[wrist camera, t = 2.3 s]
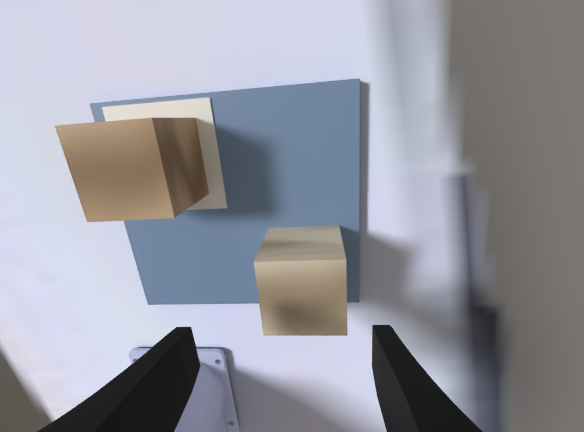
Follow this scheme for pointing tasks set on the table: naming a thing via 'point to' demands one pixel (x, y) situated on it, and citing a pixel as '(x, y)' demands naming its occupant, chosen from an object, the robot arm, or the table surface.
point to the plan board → (250, 185)
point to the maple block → (302, 281)
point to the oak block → (135, 167)
